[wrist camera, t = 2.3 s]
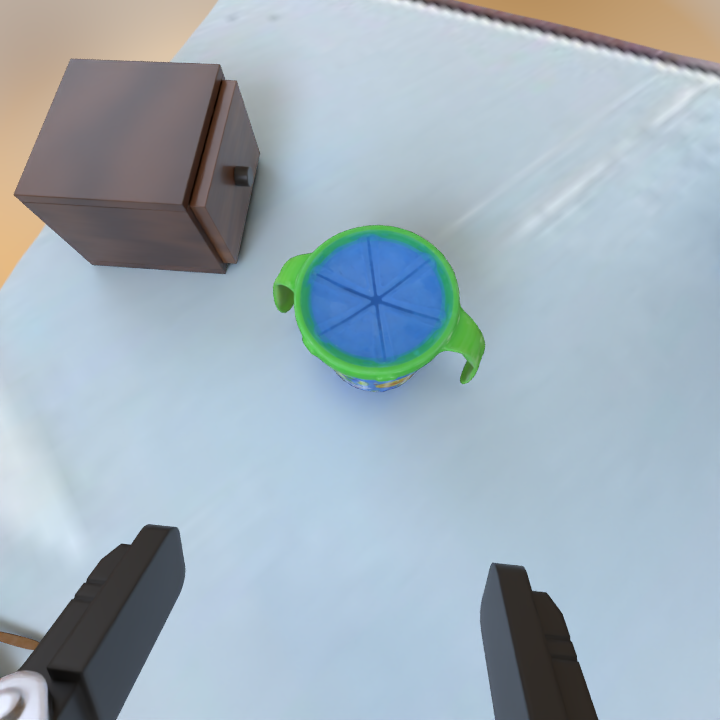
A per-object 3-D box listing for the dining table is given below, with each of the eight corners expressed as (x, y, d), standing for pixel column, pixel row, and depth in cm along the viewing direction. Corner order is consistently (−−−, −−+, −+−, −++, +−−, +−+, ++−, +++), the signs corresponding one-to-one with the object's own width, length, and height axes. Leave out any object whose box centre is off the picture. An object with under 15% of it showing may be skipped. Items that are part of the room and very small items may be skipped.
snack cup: (488, 341, 38) (526, 281, 28) (431, 452, 35) (451, 427, 25) (328, 263, 41) (314, 185, 31) (264, 359, 38) (226, 306, 28)
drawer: (272, 153, 44) (251, 80, 37) (249, 264, 40) (221, 207, 33) (146, 147, 45) (101, 74, 38) (112, 255, 41) (54, 198, 33)
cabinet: (251, 154, 45) (220, 63, 36) (225, 274, 41) (182, 204, 32) (130, 148, 46) (70, 58, 37) (92, 265, 42) (12, 194, 33)
